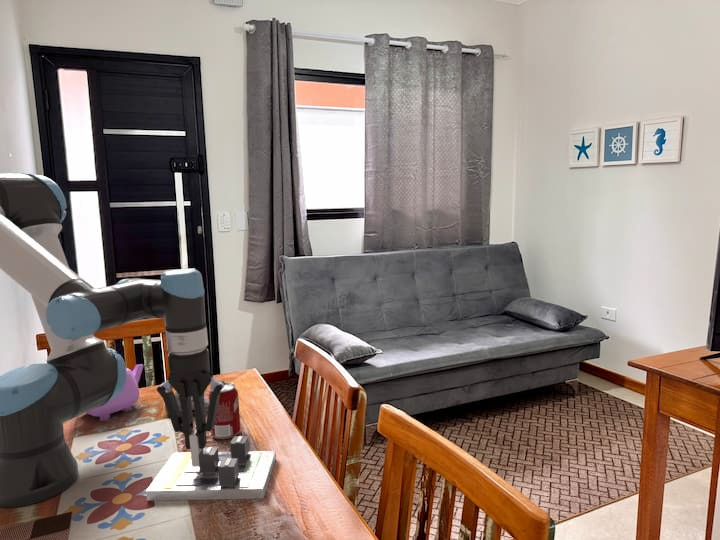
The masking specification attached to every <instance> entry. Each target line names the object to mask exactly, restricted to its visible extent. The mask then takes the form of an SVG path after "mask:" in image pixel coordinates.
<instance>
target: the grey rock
mask: <svg viewBox="0 0 720 540" xmlns="http://www.w3.org/2000/svg"><path fill="white" fill-rule="evenodd" d="M174 395H175V398H176V401H177V404H178V407H179V409H180V412H181V414H182V411H181V402H180V400H179V394H178V393H177V392H174ZM191 402H192V411H195V410H194V402H193V398H192V396H191ZM204 405H205V413H208V409H209V400H207V399H205V398H204ZM164 411H165V413H166V414H167V415H169V414H168V411H167V408H166V406H165V405H164Z"/></svg>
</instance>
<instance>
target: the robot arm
mask: <svg viewBox="0 0 720 540" xmlns="http://www.w3.org/2000/svg"><path fill="white" fill-rule="evenodd" d="M66 209H67V200H66V197H65V195H64V193H63V191H62V189H61V188H60V186H59V185H58V183H56V182H55V181H53V180H52V179H51V178H49V177H47V176H44V175H40V174H32V173H26V172H25V173H24V172H23V173H0V270H1V271H3V273H5V274H6V275H8V276H9V277H10V278H11V279H12V280H14V281H15V283H17V284H18V285H20V287H22V288H23V289H24V290H25V291H27V292H28V293H29V295H31V298H32V301H33V303H34V308H35V310H36V313H37V315H38V318H39V321H40V323H41V326H42V329H43V332H44V334H45V337H46V339H47V343H48V345H49V347H50V353H49V355H47V358H46V360H45V361H46V363H43V362H42V363H32V364H29V365H28V366H20V367H17V368H15V369H14V368H13V369H12V370H9V371H7V372H5V373H3V374H1V375H0V508H1V507H2V508H18V507H25V506H29V505H33V504H37V503H40V502H43V501H45V500H48V499H50V498H53V497H55V496H57V495H59V494H60V493H63V492H64V491H65V490H67V489H68V488H70V487H71V486H72V485H73V484H74V483H75V482H76V481H77V479H78V478H79V475H80V473H79V465H78V462H77V459H75V457H74V455H73V453H72V451H71V449H70V448H69V447H70V446H69V445H68V443H67V442H66V439H65V433H64V424H65V423H66V422H68V421H70V420H73V419H74V418H77V417H79V416H81V415H84V414H87V413H86V412H88V411H90V410H92V409H95V408H97V407H100V406H103V405H105V404H107V403H108V402H109V401H111V400H113V399H115V398H116V397H118V396H119V395H120V394H121V392H122V391H123V389H124V385H125V384H126V379H127V371H126V368H127V367H126V362H125V359H124V358H123V357H122V355H121V353H118V351H116V350H115V349H113V348H109V347H108V348H107V346H106V343H105V341H104V339H100V338H98V337H96V336H95V335H94V334H96V333H99V332H102V331H104V330H108V329H111V328H115V327H117V326H123V325H125V324H127V323H128V324H129V323H132V322H135V321H138V320H141V319H146V318H149V319H150V318H151V319H162V320H164V329H165V339H166V347H167V348H166V349H167V351H169V352H168V354H167V361H168V362H167V363H168V370H169V374H168V377H167V380H166V381H164V382H163V381H162V383H161V384H160V385H159V386H158V387H157V388H156V392H157V393H158V394H159V395H160V397H162V400H163V403H164V407H165V406H166V408H167V411H168V414H167V415H168V416H169V419H170V422H171V425H172V427H173V431H174V432H175V433H182V434H183V435H184V444H185V448H186V450H189V451H190V453H191V462H192V467H194V466H199V454H200V452H201V450H202V449H204V448H206V446H207V443H208V441H207V432H211V429H212V428H213V426H214V425H215V420H216V415H217V409H218V403H219V398H220V392H221V390H222V389H223V387H224V385H225V381H224V380H220V381H219V380H217V379H216V378H214V374H213V373H212V371H211V366H210V365H211V364H210V352H209V349H208V348H207V347H208V346H209V339H208V328H207V321H206V305H205V304H206V302H205V294H206V293H205V291H206V290H205V287H204V281H203V275H202V273H201V271H199V270H197V269H194V268H192V269H191V268H186V269H183V268H180V269H173V270H167V271H164V272H163V273H161V275H160V279H147V278H140V277H133V278H123V279H121V280H119V281H118V282H117V283H115V284H112V285H109V286H103V287H99V288H96V287H93V286H92V285H91V284H90V283H89V282H87V281H85V279H83V278H82V277H80V275H78V274H77V273H76V272H75V271H73V270H72V269H71V268H70V266H69V264H68V260H67V258H66V256H65V253H64V249H63V247H62V245H61V242H60V238H59V234H60V232H61V231H62V229H63V225H62V222H63V221H64V219H65V218H66V216H67V211H66ZM209 386H210V392H211V391H212V394H211V398H210V404H209V409H208V412H207V417H206V412H205V405H204V399H205V391H206V390H207V388H208V387H209ZM173 389H174V390H173ZM174 391H175V392H174ZM175 393H178V394H179V400H180V402H181V411H182V413H181V412H180V409H179V407H178V404H177V401H176V398H175ZM191 396H192V398H193V402H194V410H192V402H191ZM193 411H194V414H193ZM193 415H194V416H193ZM194 418H195V424H194ZM194 428H195V429H194Z"/></svg>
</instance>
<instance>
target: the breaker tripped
mask: <svg viewBox="0 0 720 540" xmlns="http://www.w3.org/2000/svg"><path fill="white" fill-rule="evenodd" d="M218 452H219V447H217V446H216V447H215V446H214V447H213V446H210V447H205V448H204V449H202V450H201V452H200V454H199V467H200V472H207V471H215V470H216V468H217V466H218V464H219V455H218Z"/></svg>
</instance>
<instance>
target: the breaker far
mask: <svg viewBox="0 0 720 540" xmlns="http://www.w3.org/2000/svg"><path fill="white" fill-rule="evenodd" d="M231 439H232V440H231V441H230V443H229V444H230V445H229V446H230V452H231V458H238V459H246V457H247V455H248V453H249V451H250V447H249V436H247V435H239V436H237V435H236V436H234V437H232V438H231Z"/></svg>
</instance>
